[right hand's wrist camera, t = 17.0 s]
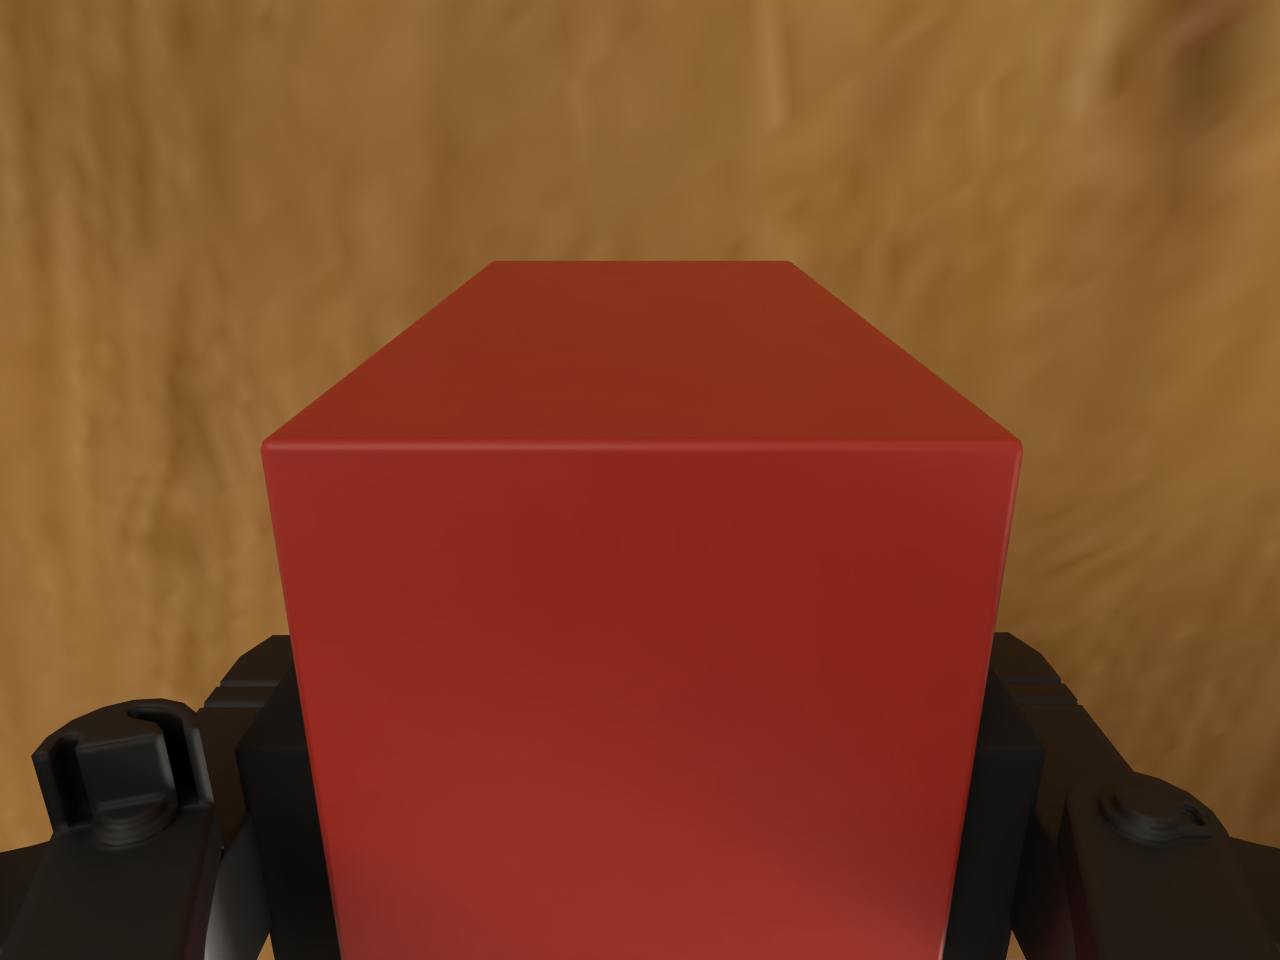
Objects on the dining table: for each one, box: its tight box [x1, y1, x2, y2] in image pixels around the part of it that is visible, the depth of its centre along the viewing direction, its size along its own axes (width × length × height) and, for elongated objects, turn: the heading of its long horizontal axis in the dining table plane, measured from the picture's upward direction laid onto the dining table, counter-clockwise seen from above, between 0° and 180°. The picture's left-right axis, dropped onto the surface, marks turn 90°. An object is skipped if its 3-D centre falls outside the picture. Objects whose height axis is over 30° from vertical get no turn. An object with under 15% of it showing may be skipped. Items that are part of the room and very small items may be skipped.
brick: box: [261, 261, 1023, 960], centre depth 13 cm, size 9×6×11 cm, turn 0°
